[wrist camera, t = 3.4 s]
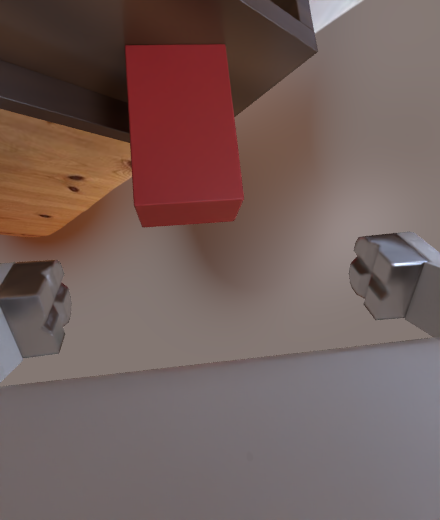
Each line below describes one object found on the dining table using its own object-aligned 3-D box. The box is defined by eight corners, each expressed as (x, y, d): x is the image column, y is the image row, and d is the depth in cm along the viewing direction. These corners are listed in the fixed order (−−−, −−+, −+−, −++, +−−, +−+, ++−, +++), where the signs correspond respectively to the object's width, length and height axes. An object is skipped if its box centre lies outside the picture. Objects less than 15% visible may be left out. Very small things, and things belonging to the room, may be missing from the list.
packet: (124, 44, 21) (133, 206, 19) (225, 43, 22) (244, 199, 20) (133, 89, 25) (142, 227, 23) (219, 87, 26) (234, 221, 24)
